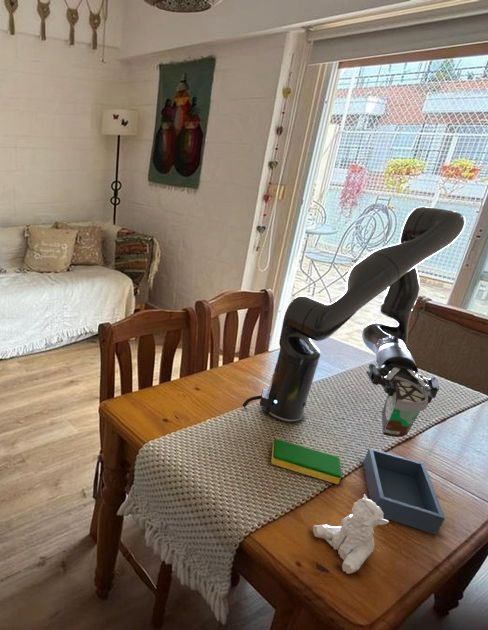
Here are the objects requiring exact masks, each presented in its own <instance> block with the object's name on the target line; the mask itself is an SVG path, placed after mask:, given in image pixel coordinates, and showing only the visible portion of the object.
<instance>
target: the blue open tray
mask: <svg viewBox="0 0 488 630" xmlns="http://www.w3.org/2000/svg"><path fill="white" fill-rule="evenodd" d="M362 465H363V470H364V474H365V480H366V485H367V490H368V491H367V492H368V497H369V499H370V500H372V501H373V502H375V503H376V505H377V506H379V507H380V508H381V510H382V512H383V513H384V514H383V516H384V518H383V519H386V520H388V521H389V520H390V521H392V522H395V523H399V524H402V525H404V526H408V527H411V528H414V529H416V530H420V531H423V532H426V533H429V534H433V535H436V536H437V534H438V532H439V530H440V529H441V527H442V525H443V523H444V521H445V519H446V517H445V515H444V512H443V509H442V506H441V504H440V501H439V499H438V496H437V493H436V490H435V488H434V485H433V482H432V479H431V477H430V475H429V472H428V469H427V467H426V464H425V463H424V462H421V461H418V460H413V459H410V458H407V457H403V456H399V455H397V454H392V453H389V452H385V451H381V450H377V449H374V448H370V447H368V449H367V452H366V454H365V457H364V460H363V462H362Z"/></svg>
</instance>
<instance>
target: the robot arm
mask: <svg viewBox="0 0 488 630" xmlns="http://www.w3.org/2000/svg"><path fill="white" fill-rule="evenodd" d="M465 225H466V218H465V216H463V214H461V213H460V212H457V211H453V210H451V209H443V208H436V207H429V206H418V207H416V208H413V210H411V212H410V213H408V215H407V217H406V218H405V221H404V223H403V226H402V228H401V233H400V238H399V242H398V243H396V244H395V243H394V244H391V245H388V246H383V247H380V248H378V249H375V250H373V251H371V252H369V253H368V254H366V255H365V256H364V257H363V258H361V259H360V260H358V261H357V262H356V263H354V264H353V266H351V268H350V269H349V271H348V273H347V276H346V282H345V289H344V292H343V293H342V295H341V296H339V298H337V299H336V300H334V301H333V302H331V303H326V302H323V301H321V300H318V299H316V298H313V297H311V296H308V295H298V296H296V297H294V298H293V299H292V300H291V302H290V303H289V304H288V306H287V308H286V310H285V313H284V316H283V320H282V326H281V330H280V335H279V352H278V356H277V360H276V363H275V367H274V371H273V373H272V376H271V380H270V383H269V388H268V389H267V388H262V390H261V394H260V395H256V396H251V397H249V398H247V399H246V400H245V401H244V402H243V404H242V405H241V406H242V407H243V408H246V407H247V406H248V404H249V403H250V402H252V401H256V400H259V401H260V402H259V406H261V407H263V408H264V414H267V415H269V416H271V417H273V418H274V419H276V420H280V421H282V422H287V423H296V422H299V421H301V420H302V418H303V413H304V412H305V411H304V410H305V408H307V403H308V398H309V394H310V390H311V387H312V384H313V381H314V377H315V374H316V371H317V368H318V365H319V361H320V358H321V351H320V349H319V348H318V347H317V345H315V343H314V342H313V341H315V342H321V341H325V340H327V339H328V338H330V337H332V335H334V334H335V333H337V331H338V330H340V329H341V327H343V326H344V325H345V324H346V323H347V322H348V321H350V319H351V318H352V317H353V316H355V314H356V313H357V312H358V311H360V310H361V309H362V308H364V306H366V305H367V304H368V303H370V302H371V301H372V300H373V299H374V298H376V297H377V296H379V295H380V294H381V293H383V292H384V291H386V292H385V295H384V297H383V300H382V303H381V305H380V308H379V312H380V313H381V315H383V316H385V317H387V318H390V319H392V320H394V321H395V325H392V324H388V323H383V322H379V321H371V322H369V323H367V324H366V325H365V326H364V327H363V329H362V333H361V339H362V342H363V343H364V345H365V346H366V348H368V349H369V350H370V351H371V352H372V353H374V354H375V360H376V362H375V363H376V364H377V366H376V365H375V364H373V363H369V365H368V368H367V370H366V375H367V376H368V379H369V380H370V382H371V384H373V385H375V386H379V385H380V386H381V388H383V391H384V393H385V394H387V396H393V393H394V391H395V387H394V384H393V382H392V381H393V379H394V377H395V376H398V377H401V378H404V379H406V380H409V381H411V382H413V383H415V384H417V385H418V386H420V387H421V388H422V389H423V390H424V391H425V392H426V393H427V397H428V404H431V402H432V400H433V399H434V398H436V397H437V394H438V392H439V391H440V385H439V381H438V378H437V377H435V376H430V378H427V377H423V375H422V374H421V373H419V369H418V366H417V364H416V362H415V360H414V358H413V355H412V354H411V352H410V351H409V350H408V347H407V344H408V340H409V325H410V318H411V315H412V313H413V312H412V311H413V310H414V308H415V305H416V302H417V300H418V298H419V294H420V291H421V290H420V288H421V287H420V286H421V284H420V278H419V273H418V269H417V266H418V265H420V264H421V263H423V262H424V261H425V260H428V259H430V258H431V257H432V256H434V255H436V254H438V253H439V252H441V251H443V250H444V249H445V248H447V247H449V246H450V245H451V244H453V243H454V242H455V241H456V240H457V239H458V238H459V236H460V235H461V234H462V232H463V231H464V228H465Z"/></svg>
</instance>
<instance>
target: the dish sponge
mask: <svg viewBox="0 0 488 630" xmlns="http://www.w3.org/2000/svg"><path fill="white" fill-rule="evenodd" d="M270 460H271V461H270V462H271V464H272V465H274V466H276V467H281V468H283V469H287V470H290V471H293V472H296V473H299V474H302V475H303V474H304V475H306V476H309V477H313V478H316V479H319V480H323V481H326V482H329V483H332V484H335V485H339V484H340V481H341V478H342V469H341V461H340V457H339V456H337V455H334V454H330V453H326V452H324V451H319V450H316V449H313V448H310V447H306V446H303V445H298V444H295V443H292V442H288V441H286V440H282V439H278V438H274V440H273V443H272V448H271V459H270Z"/></svg>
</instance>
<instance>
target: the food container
mask: <svg viewBox="0 0 488 630" xmlns="http://www.w3.org/2000/svg"><path fill="white" fill-rule="evenodd" d="M392 382H393V384H394V387H395V391H394V393H393V396H388V395H387V397H386V399H385V401H384V405H383V407H382V410H381V430H382V435H383V436H387V437H391V438H402V437H405V436H407V435H408V434H409V432H410V430H411V428H412V426H413V425H414V423H415V421H416V420H417V418H418V416H419V414H420V412H423V411H425V410H426V409H428V408H427V407H428V405H429V403H428V397H427V393H426V392H425V391H424V390H423V389H422V388H423V387H422V388H421V387H420V386H418V385H417V384H415V383H413V382H411V381H409V380H406V379H404V378H401V377H398V376H395V377H394V379H393V381H392Z"/></svg>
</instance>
